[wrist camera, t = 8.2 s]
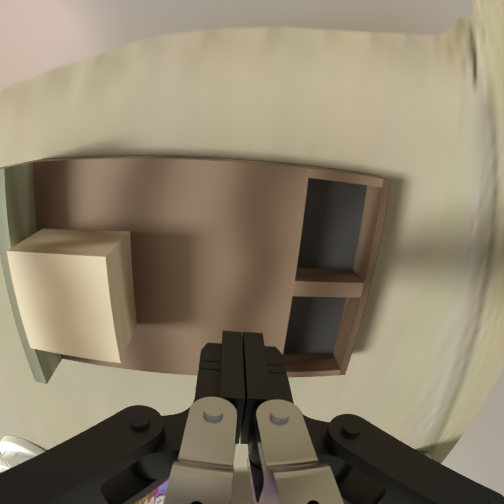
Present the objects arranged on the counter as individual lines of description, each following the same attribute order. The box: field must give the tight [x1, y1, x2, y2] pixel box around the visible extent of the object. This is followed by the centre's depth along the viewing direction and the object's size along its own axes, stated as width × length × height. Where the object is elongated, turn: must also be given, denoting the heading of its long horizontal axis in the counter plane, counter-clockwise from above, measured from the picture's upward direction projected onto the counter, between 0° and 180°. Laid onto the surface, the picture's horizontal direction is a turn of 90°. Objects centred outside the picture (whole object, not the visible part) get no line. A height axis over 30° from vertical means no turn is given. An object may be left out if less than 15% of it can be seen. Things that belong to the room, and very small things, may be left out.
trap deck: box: [0, 156, 391, 384], centre depth 18 cm, size 22×14×6 cm, turn 85°
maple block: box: [7, 229, 137, 363], centre depth 16 cm, size 6×6×4 cm
